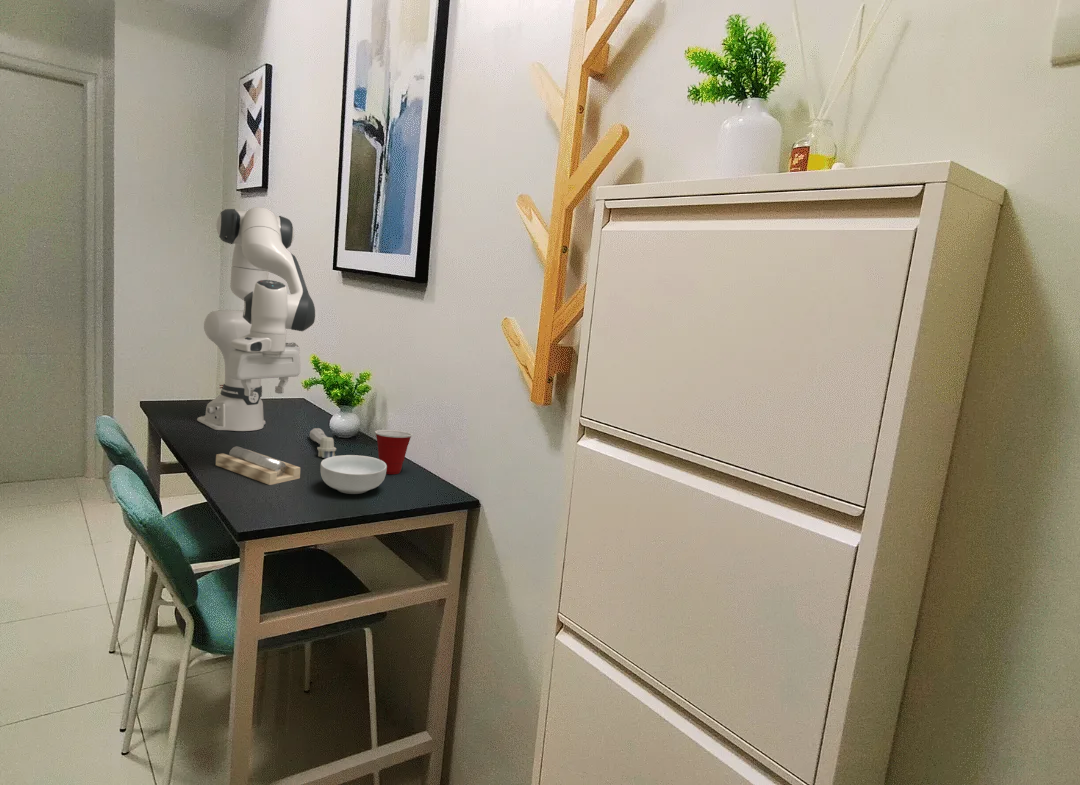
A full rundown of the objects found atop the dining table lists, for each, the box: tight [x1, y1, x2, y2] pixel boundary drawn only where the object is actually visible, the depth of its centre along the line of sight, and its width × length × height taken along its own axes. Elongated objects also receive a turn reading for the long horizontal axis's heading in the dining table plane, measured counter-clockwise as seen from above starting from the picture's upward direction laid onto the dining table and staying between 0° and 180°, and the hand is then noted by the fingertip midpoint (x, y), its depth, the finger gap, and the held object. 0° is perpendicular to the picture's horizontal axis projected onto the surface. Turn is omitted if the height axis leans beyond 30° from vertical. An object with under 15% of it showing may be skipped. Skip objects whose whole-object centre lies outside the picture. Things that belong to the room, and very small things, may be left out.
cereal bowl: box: [319, 454, 387, 495], centre depth 174 cm, size 17×17×7 cm
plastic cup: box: [374, 429, 414, 475], centre depth 193 cm, size 11×11×12 cm
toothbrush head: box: [308, 427, 337, 459], centre depth 209 cm, size 5×7×25 cm
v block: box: [215, 448, 301, 486], centre depth 179 cm, size 22×10×3 cm, turn 60°
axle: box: [228, 446, 286, 476], centre depth 178 cm, size 18×4×4 cm, turn 60°
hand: (264, 394), depth 177 cm, fingers open, 8 cm apart
